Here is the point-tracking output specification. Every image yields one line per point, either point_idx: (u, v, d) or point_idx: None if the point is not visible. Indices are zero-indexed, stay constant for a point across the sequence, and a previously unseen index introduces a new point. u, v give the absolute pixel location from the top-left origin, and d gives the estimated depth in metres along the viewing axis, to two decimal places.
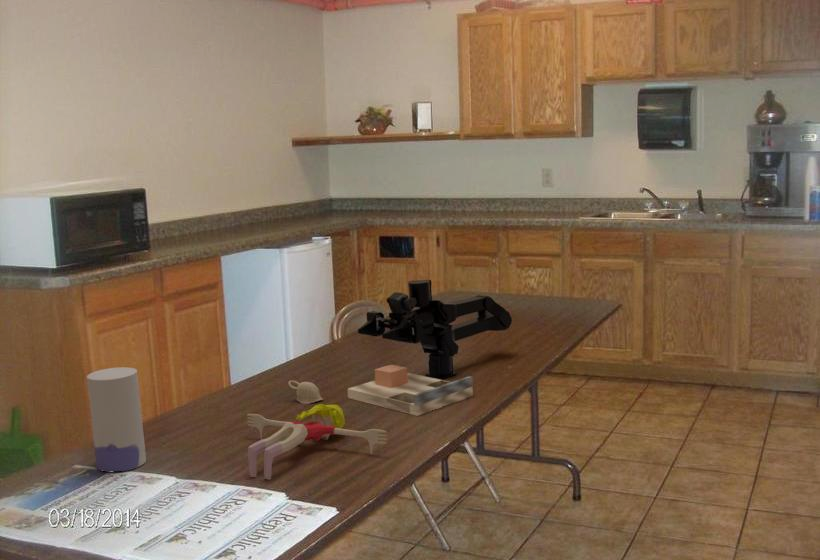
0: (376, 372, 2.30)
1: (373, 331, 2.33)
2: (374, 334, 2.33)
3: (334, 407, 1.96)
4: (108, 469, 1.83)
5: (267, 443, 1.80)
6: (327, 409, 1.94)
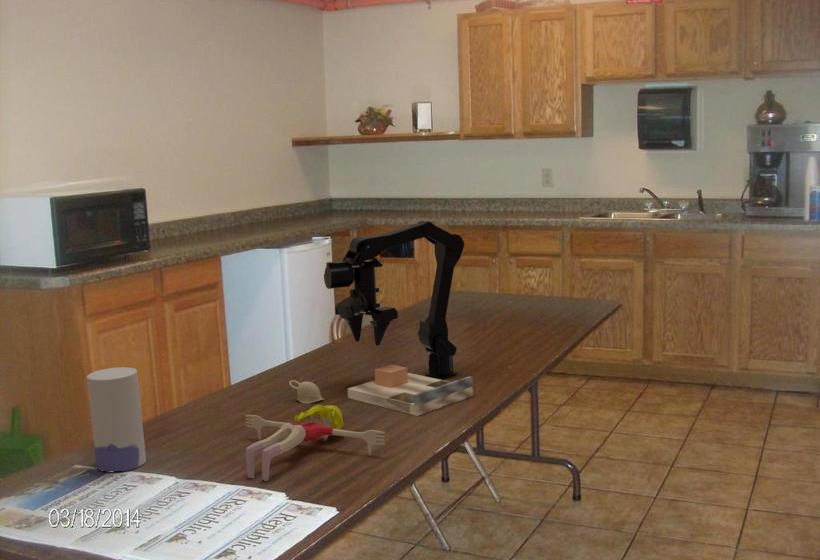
0: (376, 372, 2.30)
1: (359, 320, 2.38)
2: (361, 318, 2.39)
3: (332, 408, 1.96)
4: (108, 469, 1.83)
5: (265, 444, 1.80)
6: (325, 410, 1.93)
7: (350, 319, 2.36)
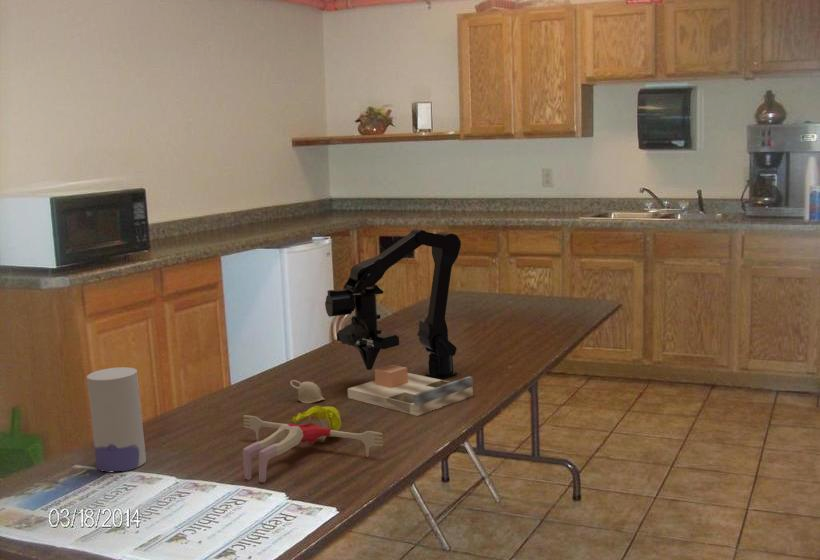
0: (376, 372, 2.30)
1: None
2: None
3: (330, 409, 1.95)
4: (108, 469, 1.83)
5: (262, 445, 1.79)
6: (323, 411, 1.93)
7: (361, 347, 2.35)
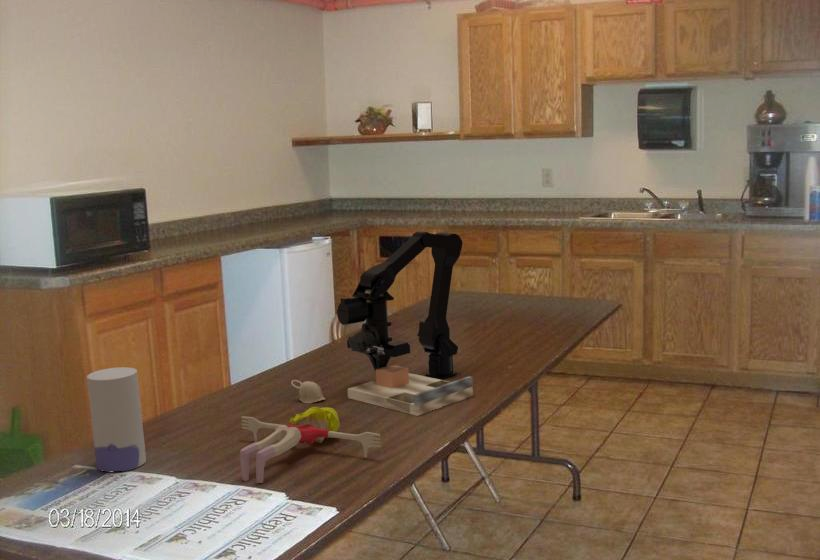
0: (377, 372, 2.29)
1: None
2: None
3: (329, 410, 1.94)
4: (108, 469, 1.83)
5: (260, 446, 1.79)
6: (321, 412, 1.92)
7: (372, 355, 2.32)
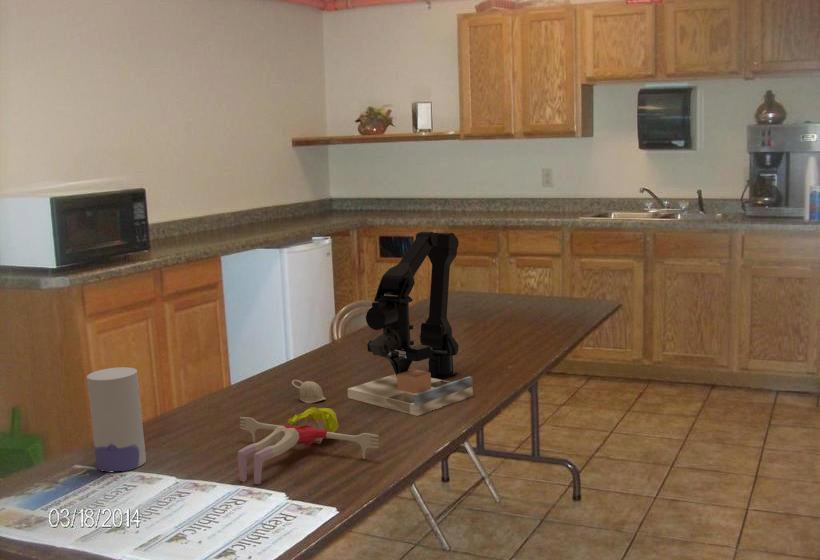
0: (399, 377, 2.24)
1: None
2: None
3: (327, 411, 1.94)
4: (108, 469, 1.83)
5: (257, 447, 1.78)
6: (320, 413, 1.92)
7: (393, 359, 2.26)
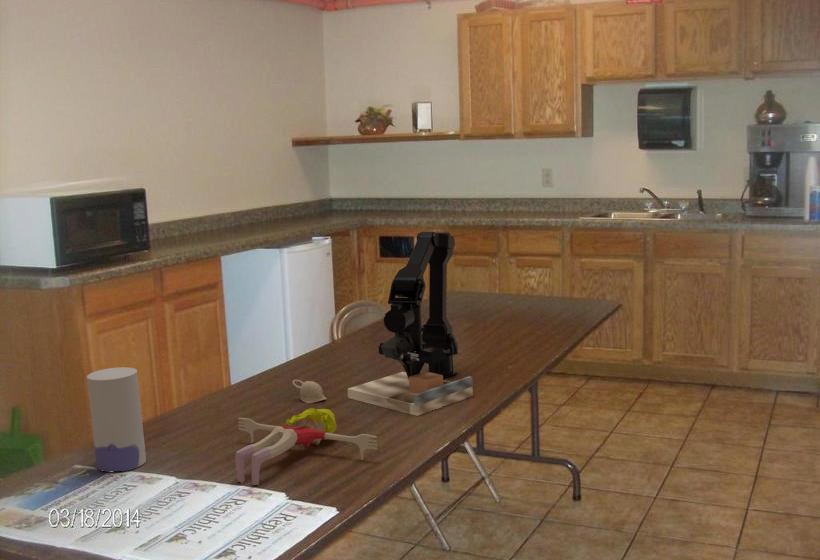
0: (411, 380, 2.21)
1: None
2: None
3: (325, 411, 1.93)
4: (108, 469, 1.83)
5: (255, 448, 1.78)
6: (318, 413, 1.91)
7: (405, 361, 2.23)
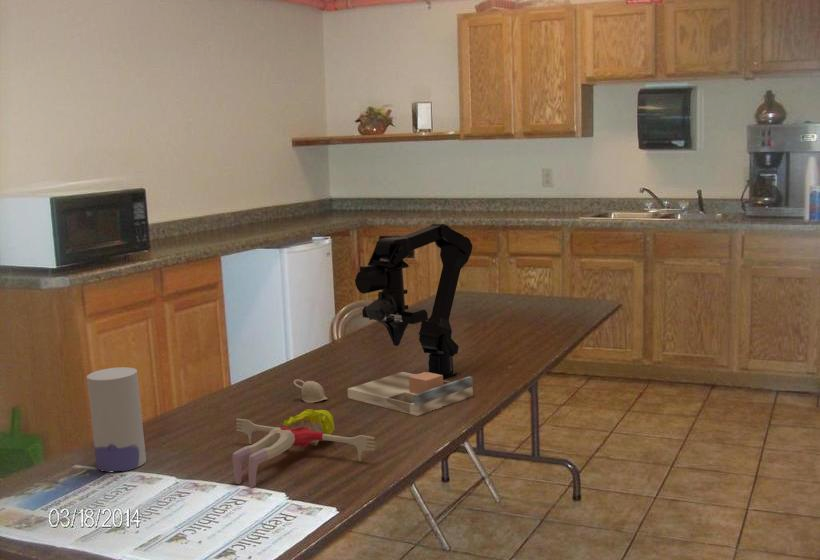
0: (411, 380, 2.21)
1: None
2: None
3: (323, 412, 1.93)
4: (108, 469, 1.83)
5: (252, 450, 1.77)
6: (316, 414, 1.90)
7: (388, 323, 2.31)
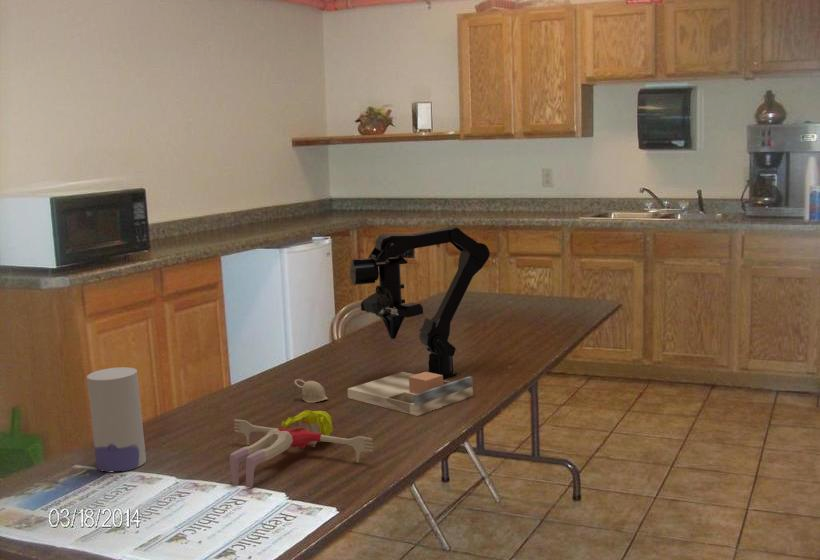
0: (411, 380, 2.21)
1: None
2: None
3: (321, 413, 1.92)
4: (108, 469, 1.83)
5: (250, 451, 1.76)
6: (314, 415, 1.90)
7: (385, 316, 2.38)
